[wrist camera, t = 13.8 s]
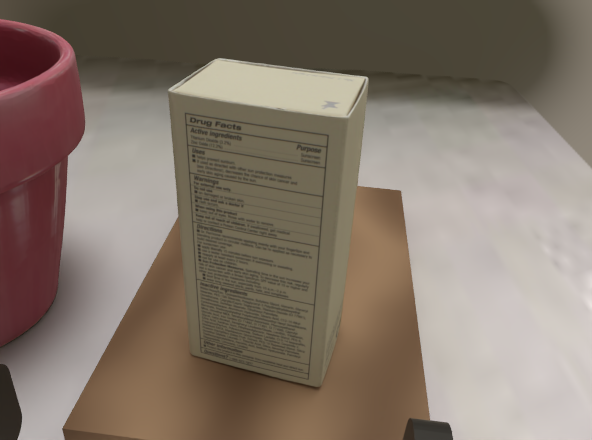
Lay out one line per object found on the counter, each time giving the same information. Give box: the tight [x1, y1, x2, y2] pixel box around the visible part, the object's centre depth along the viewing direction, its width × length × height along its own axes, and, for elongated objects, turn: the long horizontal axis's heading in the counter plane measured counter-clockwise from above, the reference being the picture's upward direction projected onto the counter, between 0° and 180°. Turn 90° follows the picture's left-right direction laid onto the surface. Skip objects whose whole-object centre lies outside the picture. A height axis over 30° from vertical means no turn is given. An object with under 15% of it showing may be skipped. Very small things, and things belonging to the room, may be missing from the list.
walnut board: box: [62, 186, 430, 440], centre depth 30 cm, size 14×22×2 cm, turn 174°
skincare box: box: [168, 58, 368, 387], centre depth 22 cm, size 6×4×12 cm
